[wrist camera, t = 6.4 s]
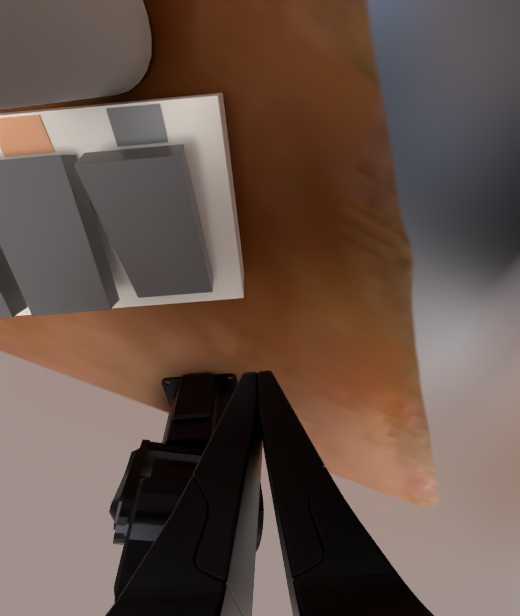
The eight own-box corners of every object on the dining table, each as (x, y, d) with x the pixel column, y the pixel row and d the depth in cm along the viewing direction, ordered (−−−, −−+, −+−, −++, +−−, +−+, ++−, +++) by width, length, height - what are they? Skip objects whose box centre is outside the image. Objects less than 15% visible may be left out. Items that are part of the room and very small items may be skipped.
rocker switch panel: (244, 272, 21) (243, 300, 18) (-4, 292, 21) (-39, 322, 19) (222, 92, 15) (217, 95, 13) (-120, 124, 15) (-194, 133, 13)
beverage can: (38, 65, 14) (-399, 37, 5) (39, -85, 12) (-929, -838, 2) (145, 113, 16) (-26, 171, 6) (167, -13, 13) (-72, -281, 3)
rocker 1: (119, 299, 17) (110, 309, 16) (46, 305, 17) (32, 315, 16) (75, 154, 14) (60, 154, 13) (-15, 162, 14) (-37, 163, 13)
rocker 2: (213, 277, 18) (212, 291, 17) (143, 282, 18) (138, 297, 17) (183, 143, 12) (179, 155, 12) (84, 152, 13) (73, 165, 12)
